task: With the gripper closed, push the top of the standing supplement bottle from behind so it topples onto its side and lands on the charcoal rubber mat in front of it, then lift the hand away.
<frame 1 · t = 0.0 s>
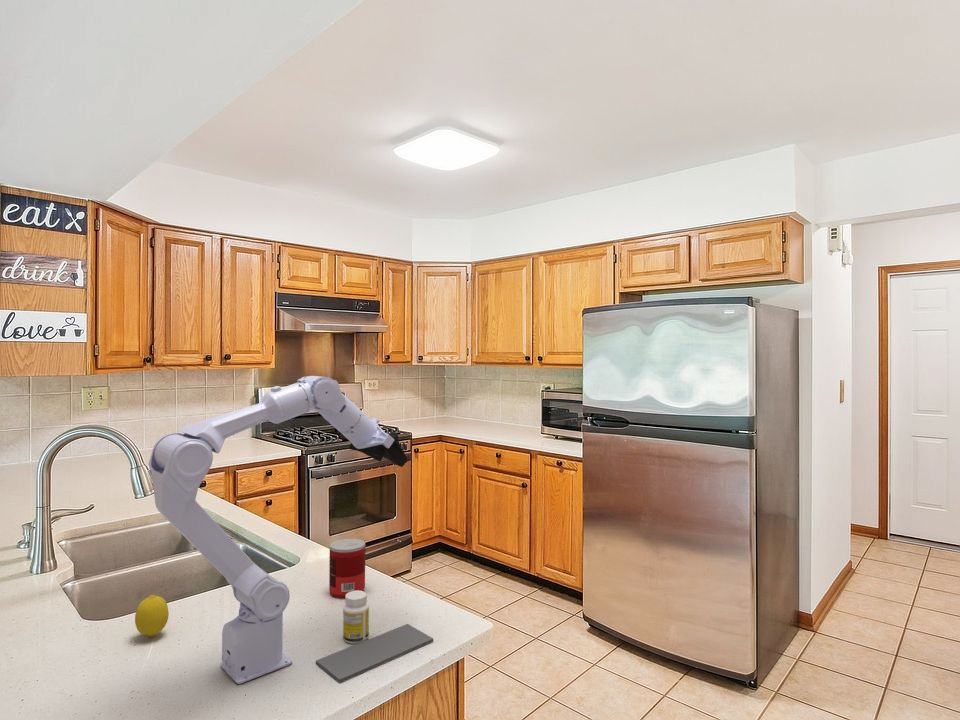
hand: (392, 459, 120), 32 cm above the worktop, tool tilted 50°, fingers open, 7 cm apart
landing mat: (376, 652, 105), on the worktop
lemon: (151, 638, 110), on the worktop
canned food: (347, 592, 131), on the worktop
supplement bottle: (355, 639, 110), on the worktop
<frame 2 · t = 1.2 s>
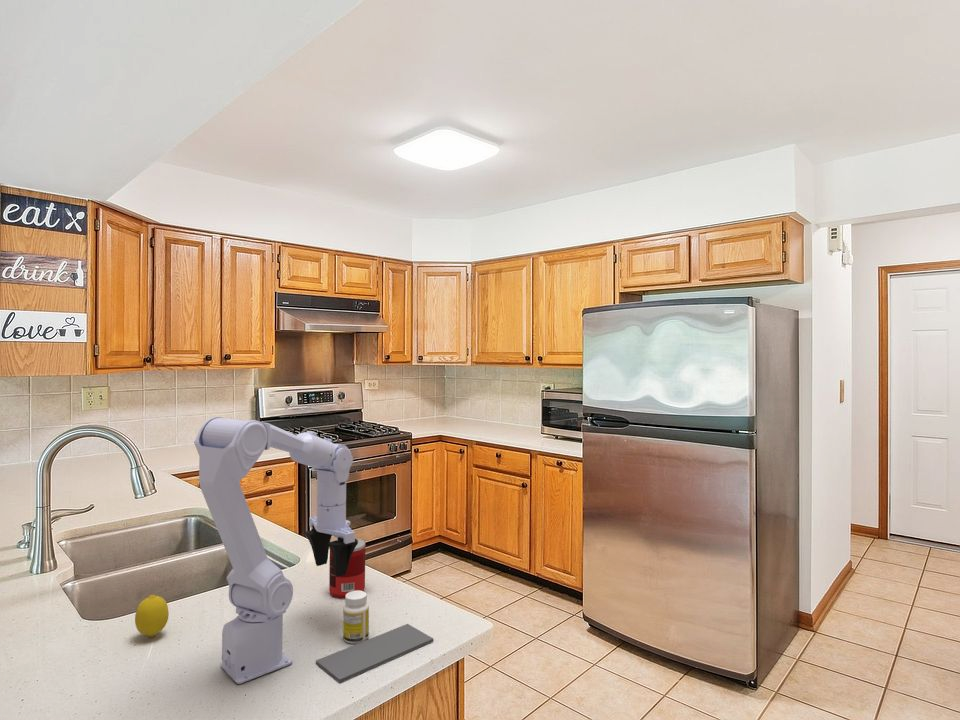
hand: (330, 569, 117), 10 cm above the worktop, tool pointing down, fingers open, 7 cm apart
nothing on the worktop moved.
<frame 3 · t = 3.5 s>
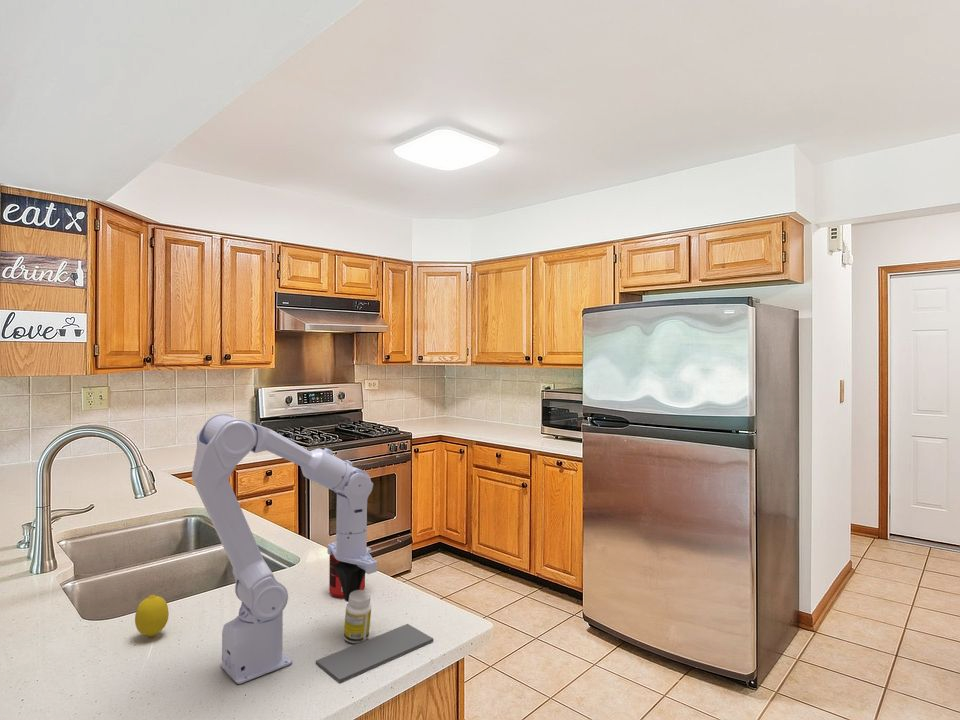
hand: (351, 599, 112), 7 cm above the worktop, tool pointing down, fingers closed
supplement bottle: (355, 637, 110), on the worktop, touching gripper
everything else where it was.
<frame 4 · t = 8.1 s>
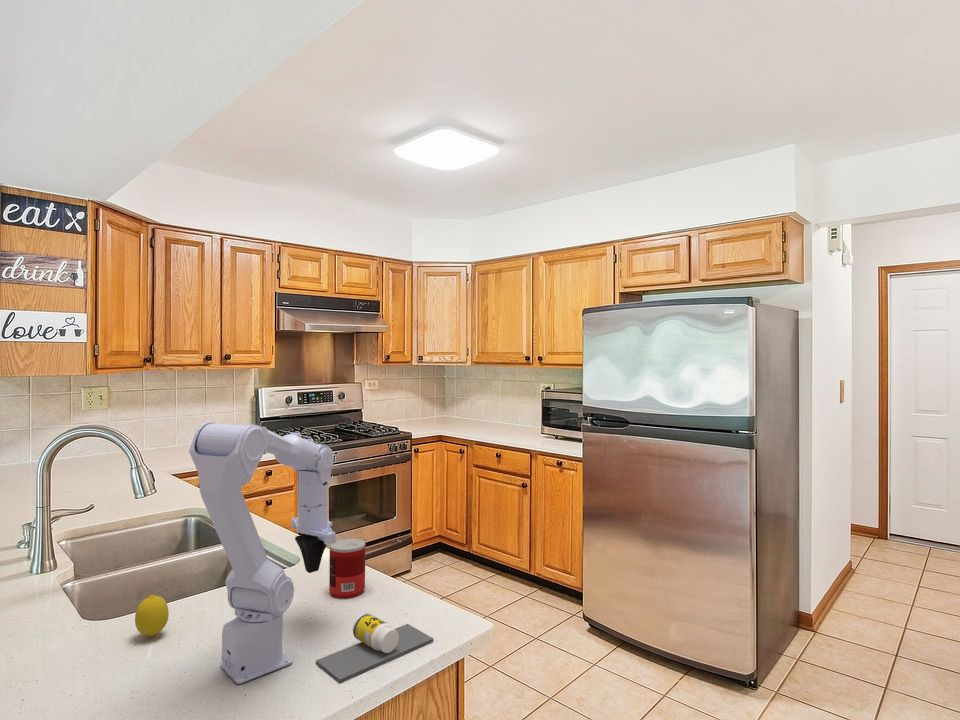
hand: (312, 570, 116), 10 cm above the worktop, tool pointing down, fingers closed
supplement bottle: (361, 625, 109), point 3 cm above the worktop, touching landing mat
everything else where it was.
at the end: supplement bottle tilted 90°; supplement bottle inside the target area on the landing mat (5.4 cm from its centre), point 2.9 cm above the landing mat's base; the gripper is holding nothing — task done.
